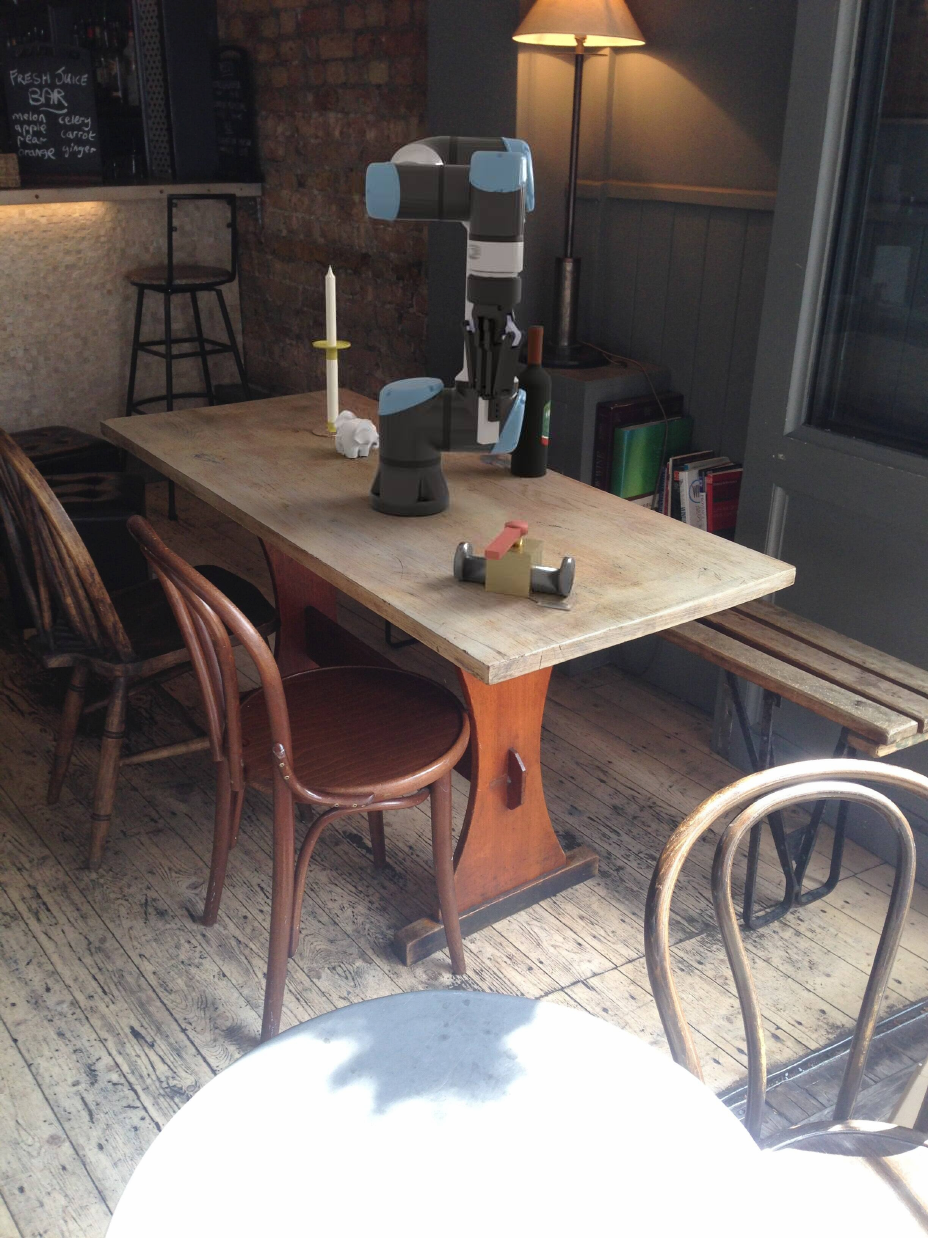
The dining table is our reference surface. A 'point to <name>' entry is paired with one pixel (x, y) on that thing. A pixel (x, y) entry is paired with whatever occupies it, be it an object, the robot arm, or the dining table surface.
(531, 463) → the wine bottle
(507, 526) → the lever
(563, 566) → the valve
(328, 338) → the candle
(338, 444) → the elephant figurine
